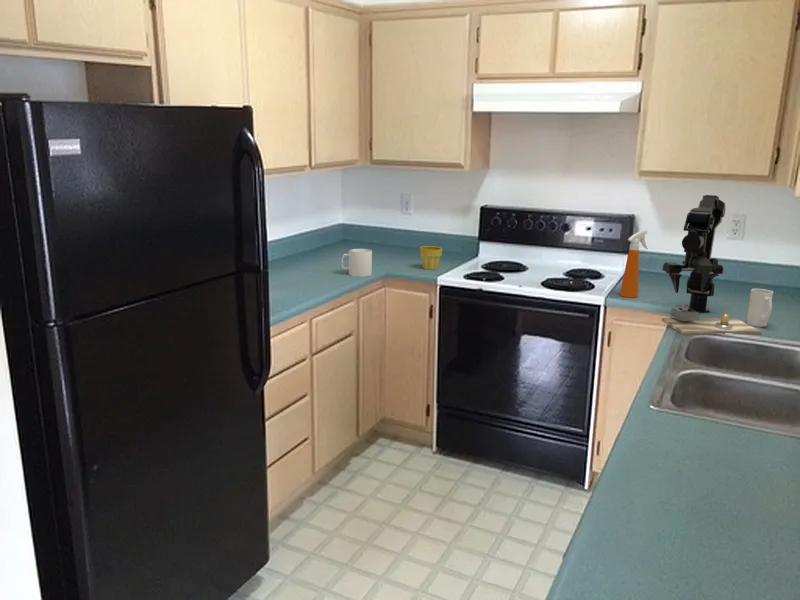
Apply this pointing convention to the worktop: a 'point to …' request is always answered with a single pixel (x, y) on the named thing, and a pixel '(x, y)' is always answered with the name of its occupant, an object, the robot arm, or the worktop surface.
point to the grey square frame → (684, 313)
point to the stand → (684, 308)
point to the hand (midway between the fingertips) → (689, 292)
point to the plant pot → (430, 256)
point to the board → (709, 326)
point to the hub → (724, 323)
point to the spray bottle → (632, 266)
